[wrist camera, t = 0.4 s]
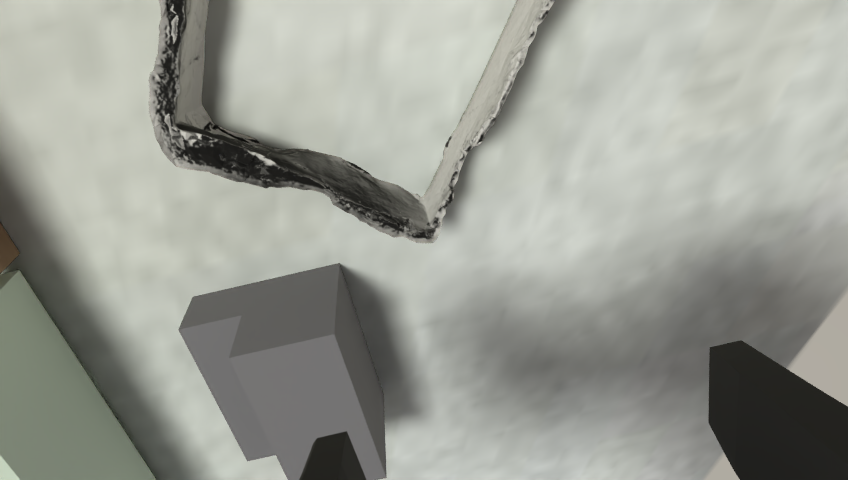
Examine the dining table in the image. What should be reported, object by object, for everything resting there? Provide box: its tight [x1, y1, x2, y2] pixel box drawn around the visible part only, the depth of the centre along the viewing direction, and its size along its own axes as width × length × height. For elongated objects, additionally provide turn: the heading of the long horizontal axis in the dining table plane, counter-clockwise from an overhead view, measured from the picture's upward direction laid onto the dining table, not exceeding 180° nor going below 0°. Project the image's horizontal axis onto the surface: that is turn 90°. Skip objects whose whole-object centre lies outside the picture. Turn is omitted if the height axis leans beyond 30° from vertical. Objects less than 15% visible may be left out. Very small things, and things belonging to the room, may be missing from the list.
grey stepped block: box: [179, 263, 386, 480], centre depth 20 cm, size 6×5×4 cm
